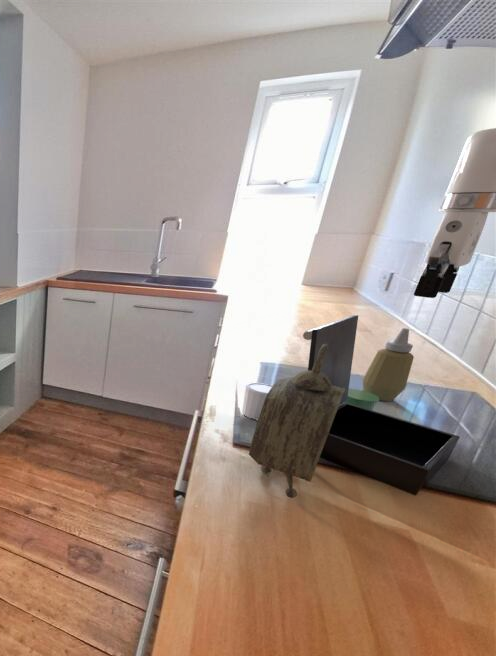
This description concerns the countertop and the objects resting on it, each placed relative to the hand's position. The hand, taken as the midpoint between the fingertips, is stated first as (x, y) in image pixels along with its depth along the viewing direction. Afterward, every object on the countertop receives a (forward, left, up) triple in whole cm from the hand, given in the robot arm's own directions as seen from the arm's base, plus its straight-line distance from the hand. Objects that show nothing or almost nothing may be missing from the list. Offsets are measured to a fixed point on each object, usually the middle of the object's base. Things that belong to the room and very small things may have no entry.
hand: (431, 294), depth 85 cm
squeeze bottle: (+4, -13, -28) cm, 32 cm away
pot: (+4, +3, -28) cm, 29 cm away
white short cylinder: (+16, +24, -28) cm, 41 cm away
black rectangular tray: (-5, +24, -28) cm, 37 cm away
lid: (+5, +24, -13) cm, 28 cm away
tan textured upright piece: (+2, +46, -28) cm, 54 cm away
